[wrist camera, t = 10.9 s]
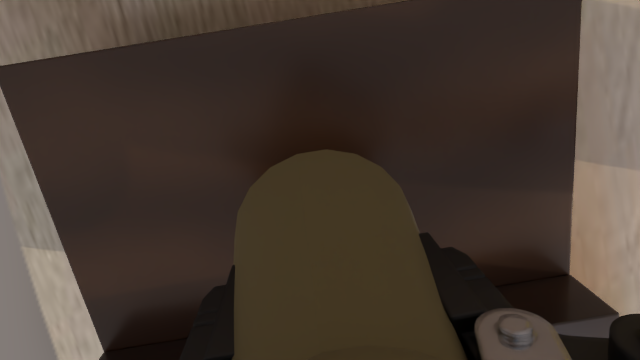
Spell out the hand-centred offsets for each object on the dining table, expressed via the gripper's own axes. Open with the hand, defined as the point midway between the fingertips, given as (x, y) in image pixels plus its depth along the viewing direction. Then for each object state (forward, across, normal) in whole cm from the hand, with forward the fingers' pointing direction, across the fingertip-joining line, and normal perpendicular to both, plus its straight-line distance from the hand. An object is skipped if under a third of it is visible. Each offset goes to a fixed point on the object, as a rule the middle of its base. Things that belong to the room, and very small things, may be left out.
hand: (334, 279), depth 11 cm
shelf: (+16, 0, 0) cm, 16 cm away
